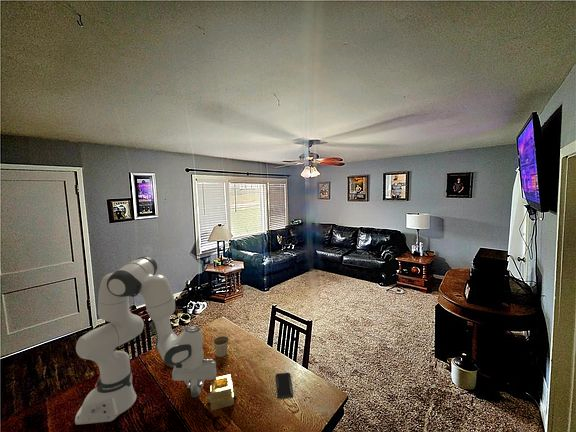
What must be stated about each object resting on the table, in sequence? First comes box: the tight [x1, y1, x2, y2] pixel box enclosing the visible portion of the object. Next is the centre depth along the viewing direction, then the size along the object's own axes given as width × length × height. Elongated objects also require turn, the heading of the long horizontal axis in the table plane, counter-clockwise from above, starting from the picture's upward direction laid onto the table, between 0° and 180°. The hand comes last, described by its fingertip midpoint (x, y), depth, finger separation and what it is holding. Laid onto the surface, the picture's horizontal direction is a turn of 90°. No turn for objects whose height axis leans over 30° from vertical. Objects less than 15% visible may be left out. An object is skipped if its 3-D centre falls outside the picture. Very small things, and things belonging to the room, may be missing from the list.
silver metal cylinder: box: [189, 379, 202, 398], centre depth 120 cm, size 4×4×9 cm
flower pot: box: [212, 335, 230, 358], centre depth 149 cm, size 9×9×9 cm
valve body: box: [206, 374, 237, 411], centre depth 116 cm, size 13×10×8 cm
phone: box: [274, 372, 294, 399], centre depth 125 cm, size 8×1×15 cm
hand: (195, 386), depth 120 cm, fingers closed on silver metal cylinder, 4 cm apart
